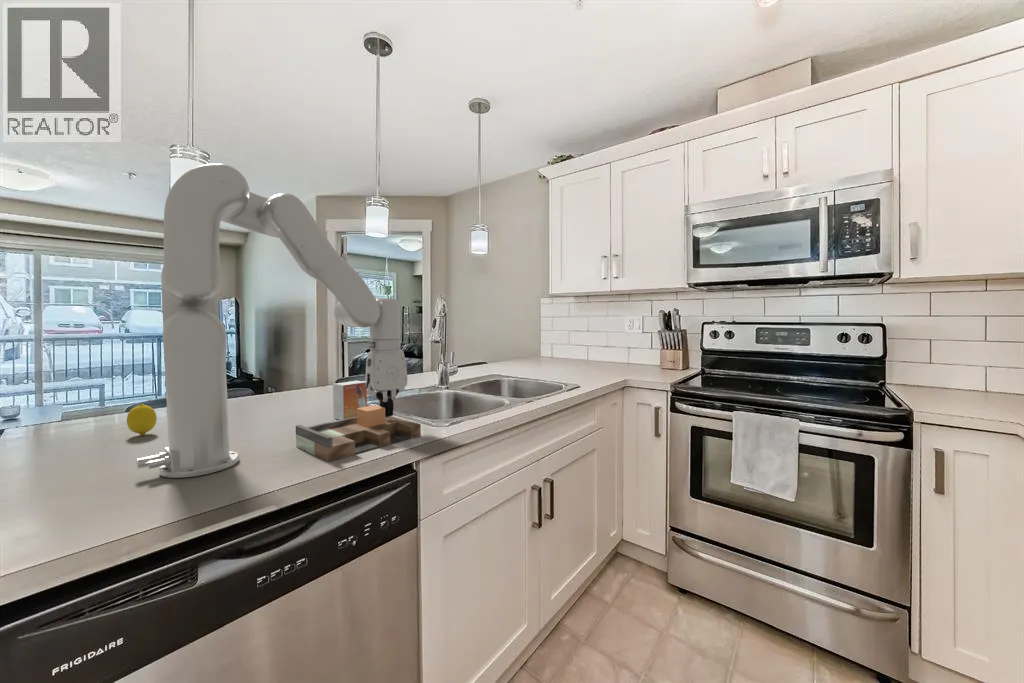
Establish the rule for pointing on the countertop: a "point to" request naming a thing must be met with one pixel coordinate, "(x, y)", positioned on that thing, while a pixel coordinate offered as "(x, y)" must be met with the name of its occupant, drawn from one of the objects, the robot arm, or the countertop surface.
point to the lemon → (141, 419)
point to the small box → (348, 399)
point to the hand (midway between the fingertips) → (386, 415)
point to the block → (370, 416)
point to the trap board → (352, 436)
